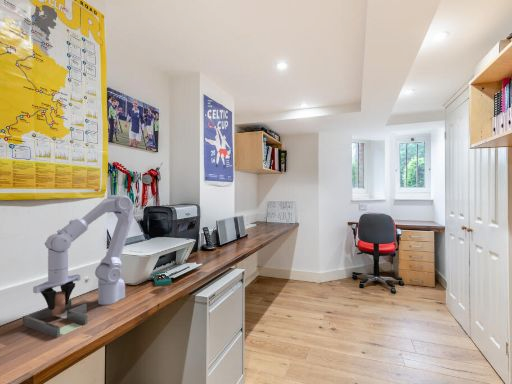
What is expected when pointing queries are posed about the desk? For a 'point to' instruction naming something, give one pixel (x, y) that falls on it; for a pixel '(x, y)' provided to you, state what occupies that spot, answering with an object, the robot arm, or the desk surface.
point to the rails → (34, 318)
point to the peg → (59, 303)
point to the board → (69, 327)
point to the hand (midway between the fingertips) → (58, 306)
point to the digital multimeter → (161, 279)
